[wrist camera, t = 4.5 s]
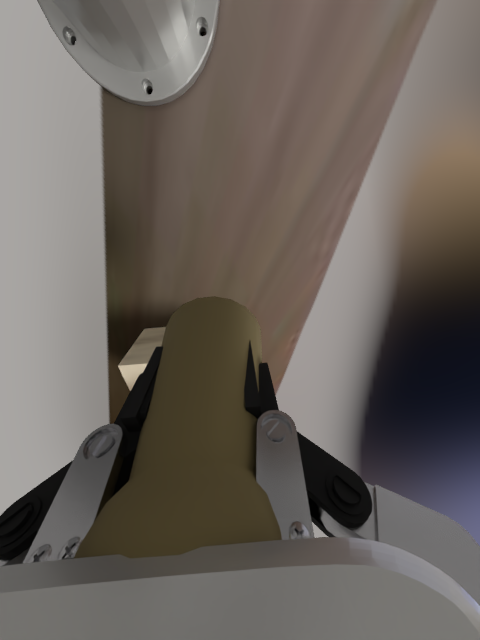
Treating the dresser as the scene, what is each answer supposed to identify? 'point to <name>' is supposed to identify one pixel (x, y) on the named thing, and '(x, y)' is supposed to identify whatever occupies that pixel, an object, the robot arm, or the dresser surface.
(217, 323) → the cork
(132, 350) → the step stand
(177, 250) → the dresser surface
